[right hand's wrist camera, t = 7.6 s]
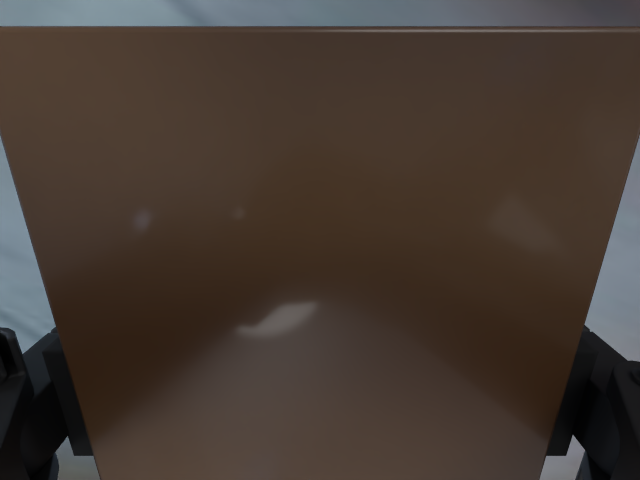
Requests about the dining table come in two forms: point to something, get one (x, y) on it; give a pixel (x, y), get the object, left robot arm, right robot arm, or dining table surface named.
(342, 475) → the wide beam
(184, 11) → the dining table surface
